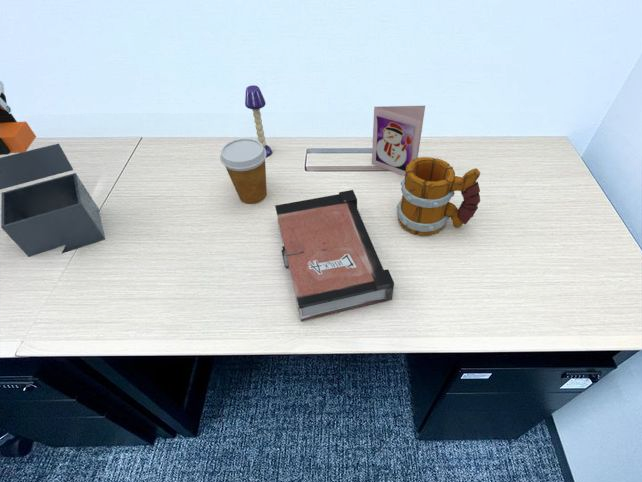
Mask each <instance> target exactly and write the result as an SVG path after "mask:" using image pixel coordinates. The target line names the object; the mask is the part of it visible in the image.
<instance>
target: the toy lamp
mask: <svg viewBox="0 0 642 482" xmlns="http://www.w3.org/2000/svg"><path fill="white" fill-rule="evenodd" d="M266 104H267V103H266V100H265V97H264V96H263V93H262V91H261V88H260V86H258V85H253V84H252V85H248V86H247V87H245V97H244V106H245V107H246V108H247V109H250V110H251V111H252V116H253V118H254V119H253V120H254V121H253V122H254V124H255V125H254V126H255V130H256V136H257V141H259V142H260V143H261V144H262V145H263V147H264V148H265V150H266V153H267V155H266V158H267V157H270V156H271V155H272V154H273V150H272V148H271V146H269V145H267V142H266V137H265V130H264V125H263V119H262V113H261V109H263V108H264V107H265V106H266Z"/></svg>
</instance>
